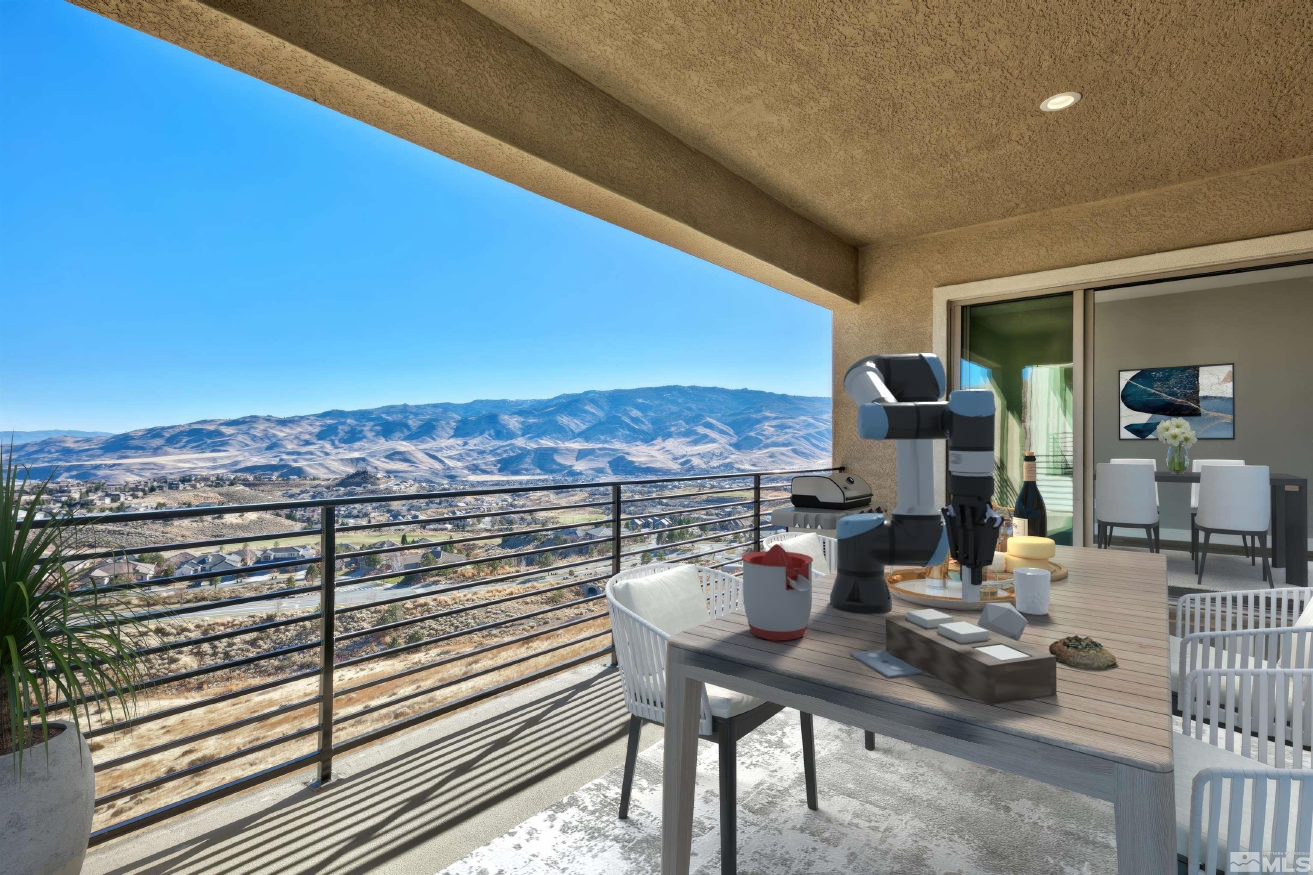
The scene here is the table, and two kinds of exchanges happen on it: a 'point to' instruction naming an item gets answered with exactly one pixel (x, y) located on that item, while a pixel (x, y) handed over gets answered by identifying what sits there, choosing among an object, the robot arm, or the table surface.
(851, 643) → the table surface
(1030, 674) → the button box
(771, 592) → the citrus juicer
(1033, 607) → the white cup
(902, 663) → the pattern card
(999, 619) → the die
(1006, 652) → the outer button
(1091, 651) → the bread roll
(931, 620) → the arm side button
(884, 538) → the robot arm
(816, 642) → the table surface
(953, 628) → the middle button
